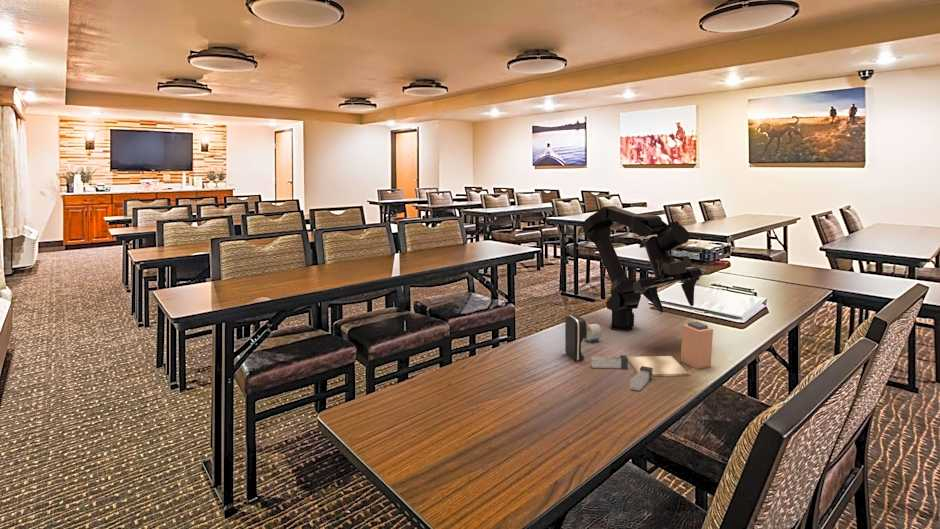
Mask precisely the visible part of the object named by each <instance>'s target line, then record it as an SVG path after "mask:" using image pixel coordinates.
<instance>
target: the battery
mask: <svg viewBox="0 0 940 529" xmlns="http://www.w3.org/2000/svg"><path fill="white" fill-rule="evenodd" d="M564 320H565V322H564V324H565V326H564V327H565V328H564V329H565V330H564V331H565V332H564V334H565V338H564V339H565V343H564V344H565V347H564V349H565V351H564V352H565V354H566V355H568V356H569V357H570V358H571V359H573V360H574V361H582V360H584V359H585V356H584V355H583V353H582V342H583V341H584V339H586V338H587V325H588V324H587V321H586V320H585V319H584V318H582V317H581V316H579V315H578V314H572V315H571V314H569V315H566V316H565V319H564Z"/></svg>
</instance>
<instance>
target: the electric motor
mask: <svg viewBox="0 0 940 529" xmlns="http://www.w3.org/2000/svg"><path fill="white" fill-rule="evenodd" d="M586 325H587V338H585V340H586V341H587V342H589V343H593V341H595V342H599V340H600V339H601V337H602V328H601V326H600V325H599V324H598V323H592V324H586Z"/></svg>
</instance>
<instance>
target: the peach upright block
mask: <svg viewBox="0 0 940 529" xmlns="http://www.w3.org/2000/svg"><path fill="white" fill-rule="evenodd" d="M681 326H682V328H681V329H682V330H681V348H680V349H681V350H680V362H682V361H683V362H682V363H684V362H685V363H684V364H686V363H687V364H686V365H688V364H689V365H688V366H691V368H694V369H696V370H697V369H703V368H709V367H711V366H712V353H713V339H714V337H713V336H714V329H712V328H710V327H709V325H707V324H705V323H702V322H699V321H691V322H687V324H682V325H681Z"/></svg>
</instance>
